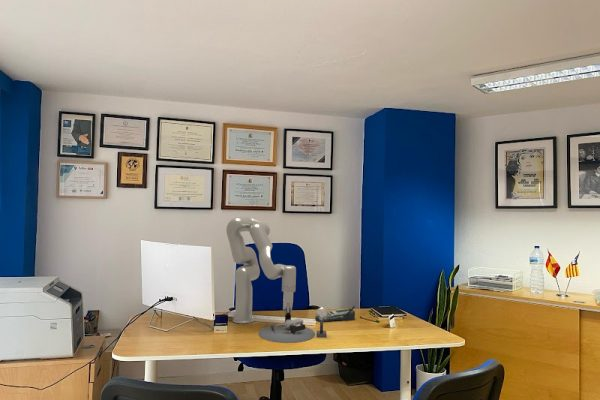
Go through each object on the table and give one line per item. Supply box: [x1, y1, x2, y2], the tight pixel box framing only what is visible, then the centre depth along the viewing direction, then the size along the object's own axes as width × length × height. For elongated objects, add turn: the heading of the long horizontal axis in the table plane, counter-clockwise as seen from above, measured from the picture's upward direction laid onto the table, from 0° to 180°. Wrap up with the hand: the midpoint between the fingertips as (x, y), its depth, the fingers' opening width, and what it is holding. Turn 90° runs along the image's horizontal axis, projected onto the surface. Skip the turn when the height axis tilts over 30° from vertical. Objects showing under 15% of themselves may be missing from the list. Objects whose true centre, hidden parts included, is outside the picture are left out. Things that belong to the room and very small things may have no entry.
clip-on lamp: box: [270, 318, 307, 334], centre depth 216 cm, size 12×6×18 cm
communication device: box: [314, 305, 356, 323], centre depth 242 cm, size 12×24×9 cm, turn 109°
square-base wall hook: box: [315, 307, 329, 339], centre depth 209 cm, size 6×5×15 cm
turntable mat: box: [257, 324, 316, 344], centre depth 212 cm, size 30×30×1 cm
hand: (287, 321), depth 223 cm, fingers closed
